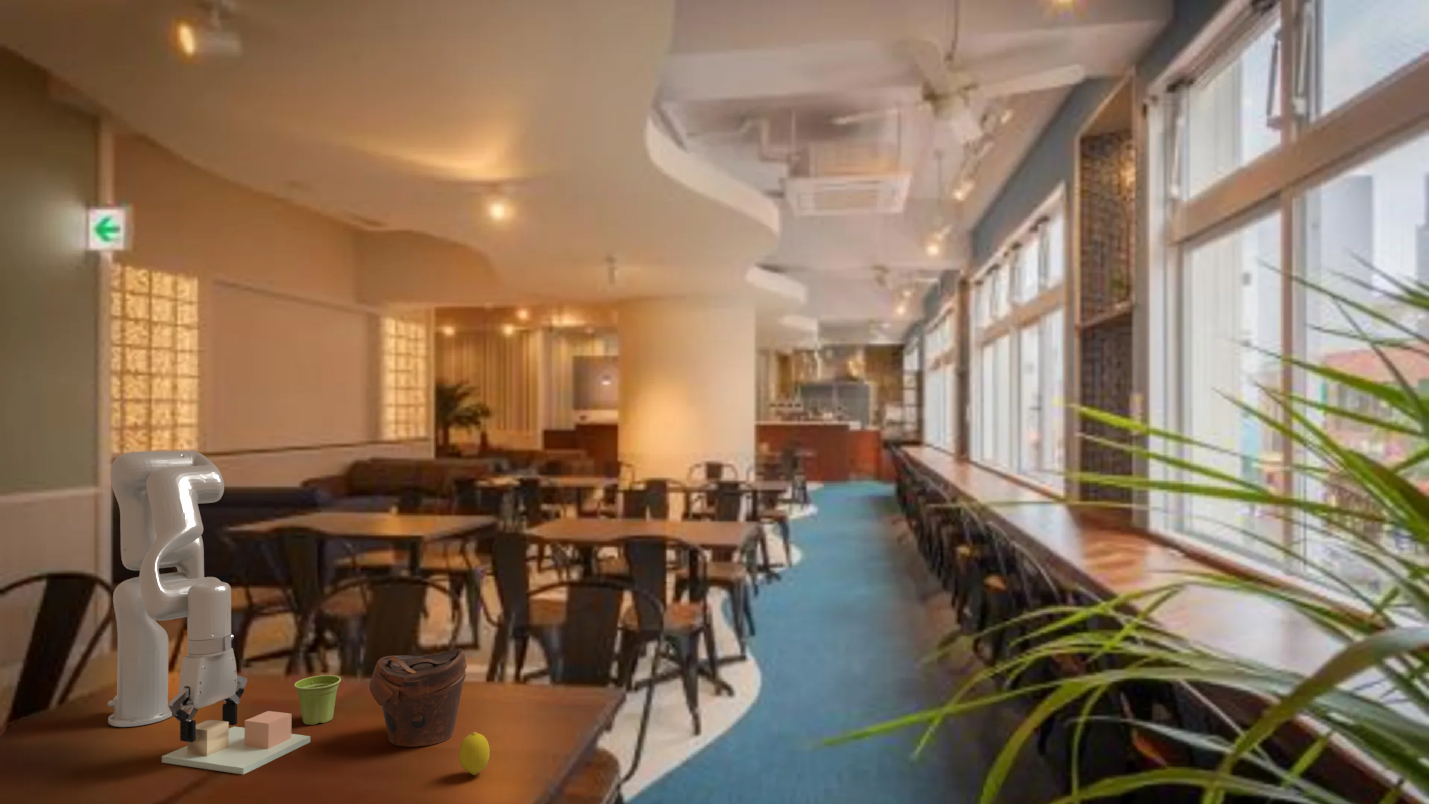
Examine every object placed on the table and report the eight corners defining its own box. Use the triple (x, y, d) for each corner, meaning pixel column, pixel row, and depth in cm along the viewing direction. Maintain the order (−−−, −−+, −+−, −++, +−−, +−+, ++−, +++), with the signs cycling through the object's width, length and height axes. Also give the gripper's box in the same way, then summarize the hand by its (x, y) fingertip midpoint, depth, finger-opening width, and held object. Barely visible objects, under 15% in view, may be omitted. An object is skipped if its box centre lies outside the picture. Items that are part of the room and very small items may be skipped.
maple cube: (187, 753, 168) (187, 727, 168) (208, 744, 173) (209, 719, 173) (207, 756, 167) (207, 730, 167) (228, 746, 171) (228, 721, 172)
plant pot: (322, 729, 184) (323, 689, 185) (284, 726, 186) (284, 686, 186) (349, 714, 194) (349, 676, 194) (312, 712, 195) (313, 674, 196)
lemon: (462, 769, 163) (462, 727, 163) (491, 768, 163) (492, 726, 164) (456, 781, 157) (456, 738, 158) (486, 780, 158) (486, 737, 158)
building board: (161, 762, 167) (161, 756, 167) (234, 732, 183) (234, 726, 183) (243, 774, 161) (243, 768, 161) (310, 742, 177) (310, 736, 177)
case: (353, 738, 179) (355, 652, 179) (440, 715, 193) (442, 635, 194) (393, 763, 167) (395, 671, 167) (483, 736, 181) (485, 651, 182)
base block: (244, 745, 172) (244, 720, 172) (267, 735, 178) (268, 710, 178) (268, 748, 170) (268, 723, 170) (291, 738, 176) (291, 713, 176)
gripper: (230, 634, 179) (230, 717, 179) (155, 655, 163) (155, 746, 162) (259, 636, 177) (259, 719, 177) (185, 657, 161) (185, 749, 160)
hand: (209, 732), depth 169 cm, fingers open, 9 cm apart
